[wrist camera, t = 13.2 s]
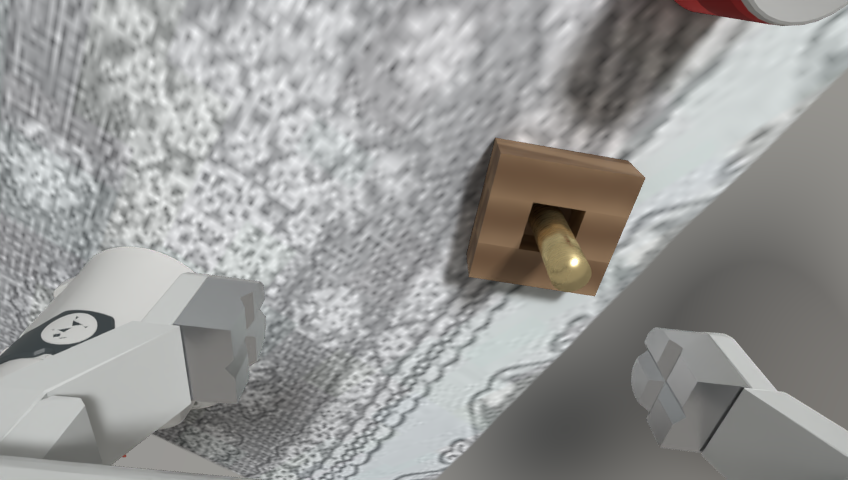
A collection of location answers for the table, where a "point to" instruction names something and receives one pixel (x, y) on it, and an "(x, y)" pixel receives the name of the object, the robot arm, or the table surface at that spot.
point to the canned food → (767, 10)
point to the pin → (559, 248)
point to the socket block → (552, 185)
